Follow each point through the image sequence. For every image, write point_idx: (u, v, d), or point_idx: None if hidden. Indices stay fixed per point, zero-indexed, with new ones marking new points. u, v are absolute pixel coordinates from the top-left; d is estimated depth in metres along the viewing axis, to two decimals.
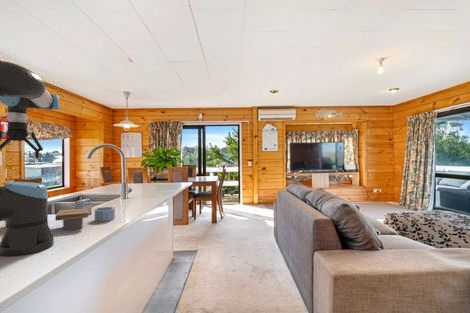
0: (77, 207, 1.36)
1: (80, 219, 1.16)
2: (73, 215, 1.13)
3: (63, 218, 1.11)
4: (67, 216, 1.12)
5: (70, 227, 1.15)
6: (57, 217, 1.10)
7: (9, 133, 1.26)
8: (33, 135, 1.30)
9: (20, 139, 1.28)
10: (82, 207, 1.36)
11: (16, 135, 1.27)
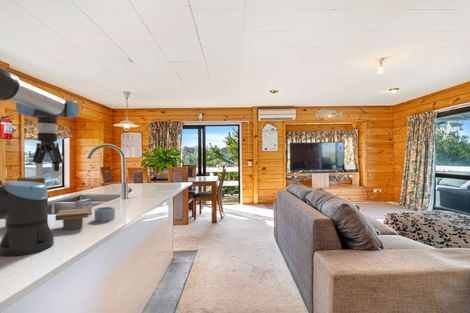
0: (77, 207, 1.36)
1: (80, 219, 1.16)
2: (73, 215, 1.13)
3: (63, 218, 1.11)
4: (67, 216, 1.12)
5: (70, 227, 1.15)
6: (57, 217, 1.10)
7: (41, 145, 1.23)
8: (52, 146, 1.18)
9: None
10: (82, 207, 1.36)
11: None
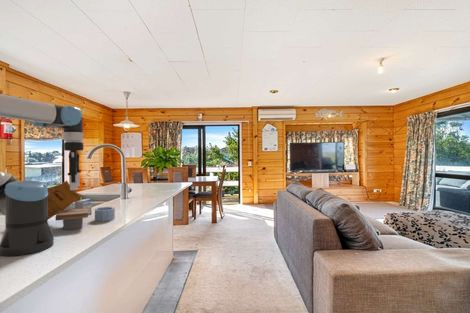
0: (77, 207, 1.36)
1: (80, 219, 1.16)
2: (73, 215, 1.13)
3: (63, 218, 1.11)
4: (67, 216, 1.12)
5: (70, 227, 1.15)
6: (57, 217, 1.10)
7: None
8: (69, 156, 1.12)
9: None
10: (82, 207, 1.36)
11: None
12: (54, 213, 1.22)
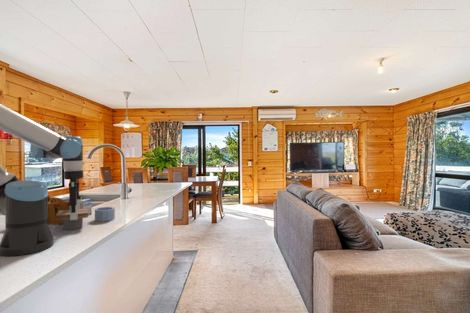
0: None
1: (80, 219, 1.16)
2: None
3: (63, 218, 1.11)
4: (67, 216, 1.12)
5: (70, 227, 1.15)
6: (57, 217, 1.10)
7: None
8: (69, 186, 1.12)
9: None
10: (82, 207, 1.36)
11: None
12: None
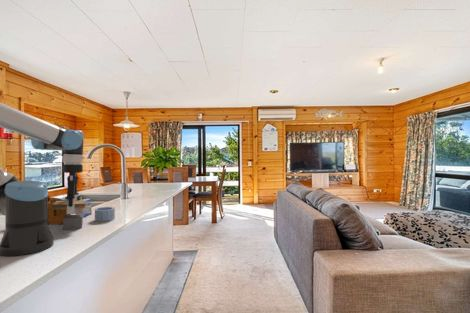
0: None
1: (80, 219, 1.16)
2: None
3: (60, 208, 1.10)
4: (64, 206, 1.11)
5: (70, 227, 1.15)
6: (54, 206, 1.09)
7: None
8: (68, 179, 1.12)
9: None
10: None
11: None
12: None
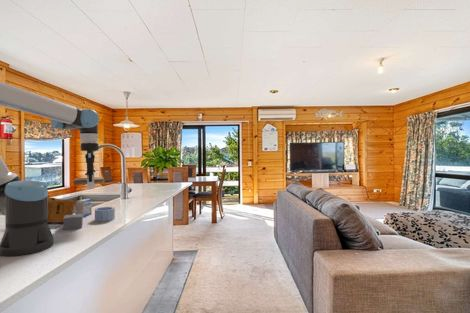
0: (77, 207, 1.36)
1: (80, 219, 1.16)
2: None
3: (80, 183, 1.18)
4: (84, 181, 1.19)
5: (70, 227, 1.15)
6: (75, 182, 1.17)
7: None
8: (86, 156, 1.19)
9: None
10: (82, 207, 1.36)
11: None
12: None
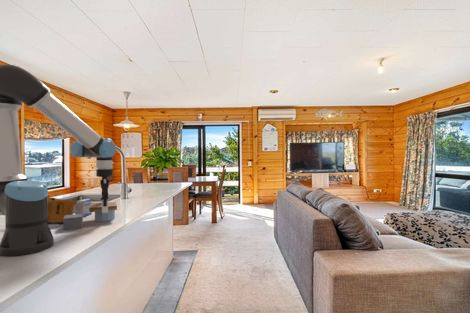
0: (77, 207, 1.36)
1: (80, 219, 1.16)
2: None
3: (96, 210, 1.25)
4: (99, 208, 1.26)
5: (70, 227, 1.15)
6: (91, 209, 1.24)
7: None
8: (102, 182, 1.26)
9: None
10: (82, 207, 1.36)
11: (102, 181, 1.32)
12: None
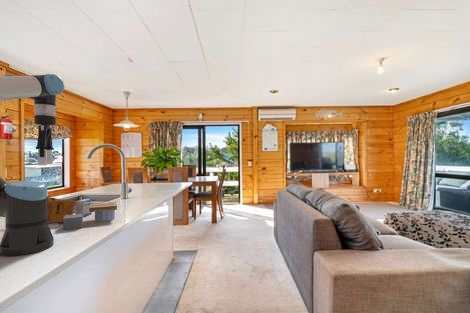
0: (77, 207, 1.36)
1: (80, 219, 1.16)
2: (104, 207, 1.27)
3: (96, 210, 1.25)
4: (99, 208, 1.26)
5: (70, 227, 1.15)
6: (91, 209, 1.24)
7: None
8: (39, 129, 1.05)
9: None
10: (82, 207, 1.36)
11: None
12: None
